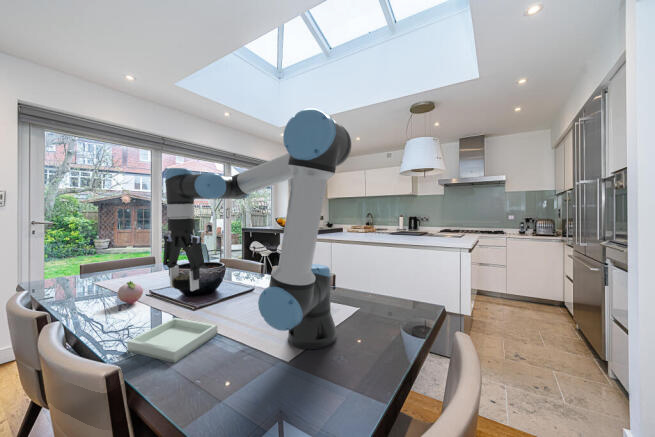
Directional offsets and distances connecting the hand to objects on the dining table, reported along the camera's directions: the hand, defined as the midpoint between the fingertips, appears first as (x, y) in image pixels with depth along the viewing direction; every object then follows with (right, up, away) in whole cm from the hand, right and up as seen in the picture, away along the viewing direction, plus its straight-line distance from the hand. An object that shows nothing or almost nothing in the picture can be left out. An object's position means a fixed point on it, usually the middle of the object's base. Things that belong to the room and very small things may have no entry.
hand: (184, 288), depth 85 cm
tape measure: (0, 0, +1) cm, 1 cm away
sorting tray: (-1, -16, -4) cm, 16 cm away
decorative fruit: (-37, -14, +26) cm, 47 cm away
